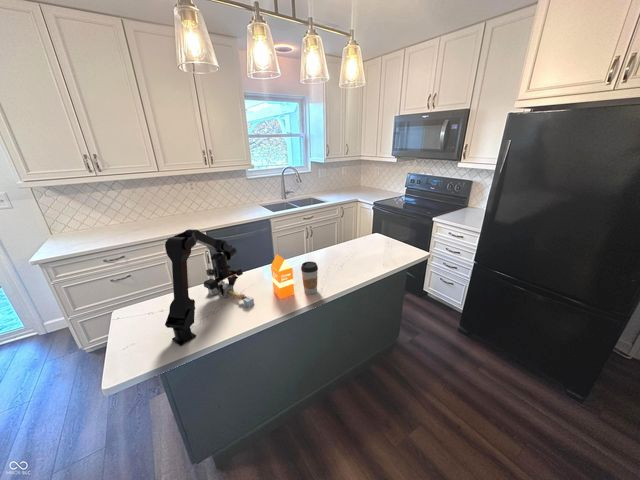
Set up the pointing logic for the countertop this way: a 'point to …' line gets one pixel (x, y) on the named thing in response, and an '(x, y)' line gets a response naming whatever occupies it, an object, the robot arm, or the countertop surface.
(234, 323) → the countertop surface
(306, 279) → the coffee cup
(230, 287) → the sleeve
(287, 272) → the orange juice
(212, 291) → the cord rig
